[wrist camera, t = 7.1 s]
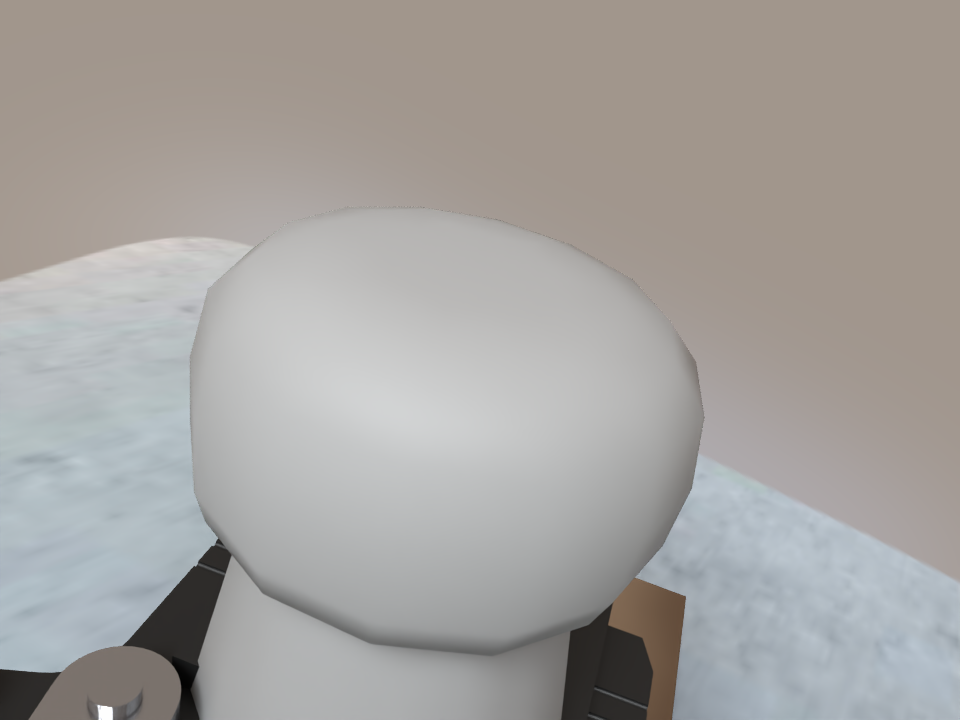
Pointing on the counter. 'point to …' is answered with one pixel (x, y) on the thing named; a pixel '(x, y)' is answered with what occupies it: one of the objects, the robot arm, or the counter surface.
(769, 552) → the counter surface
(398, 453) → the salt shaker
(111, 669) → the robot arm
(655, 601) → the wooden stand
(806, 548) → the counter surface
